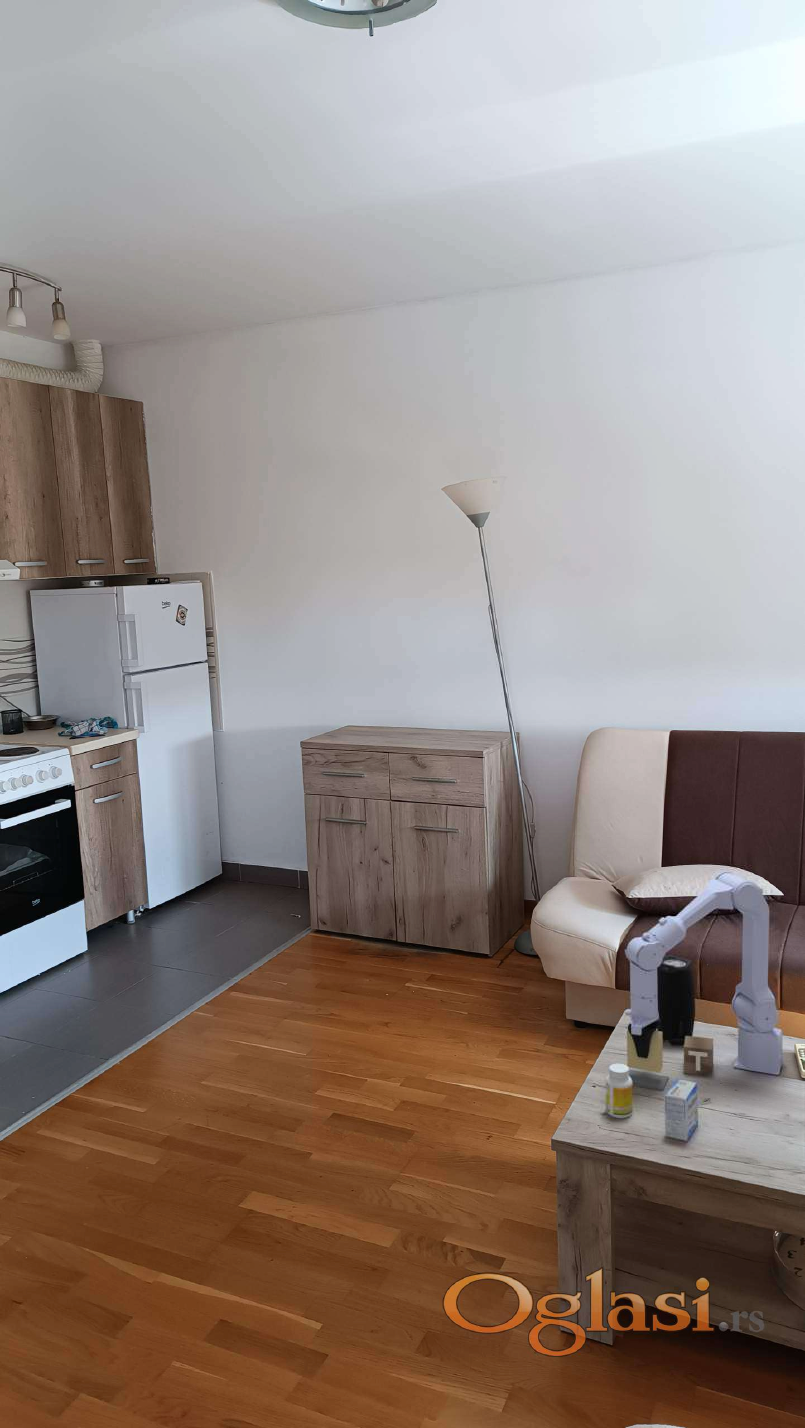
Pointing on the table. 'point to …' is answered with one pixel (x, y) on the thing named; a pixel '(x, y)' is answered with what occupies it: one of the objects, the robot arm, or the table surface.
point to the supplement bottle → (619, 1091)
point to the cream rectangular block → (654, 1056)
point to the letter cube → (698, 1055)
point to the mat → (648, 1080)
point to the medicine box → (681, 1109)
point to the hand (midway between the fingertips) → (644, 1053)
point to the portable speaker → (675, 999)
